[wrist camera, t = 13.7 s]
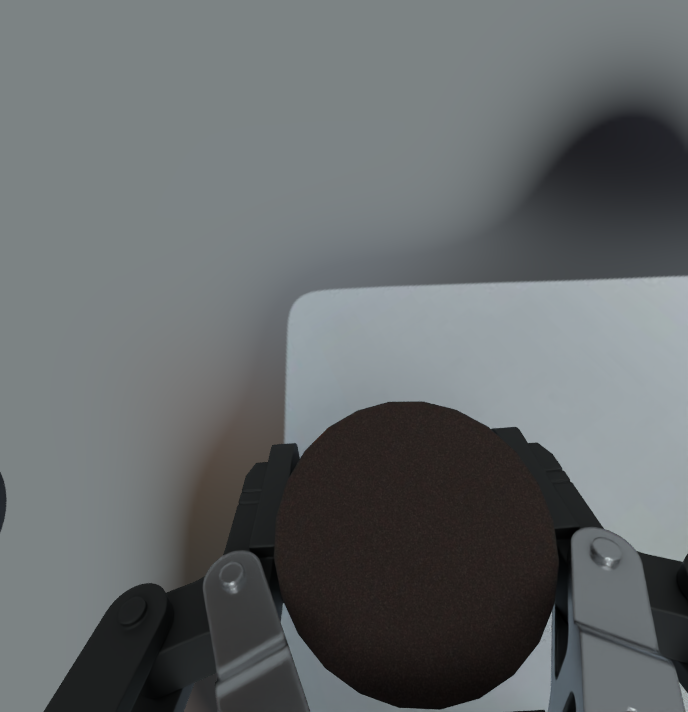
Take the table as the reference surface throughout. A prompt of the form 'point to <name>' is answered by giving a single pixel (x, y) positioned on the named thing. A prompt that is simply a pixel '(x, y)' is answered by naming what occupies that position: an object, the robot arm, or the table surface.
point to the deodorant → (416, 555)
